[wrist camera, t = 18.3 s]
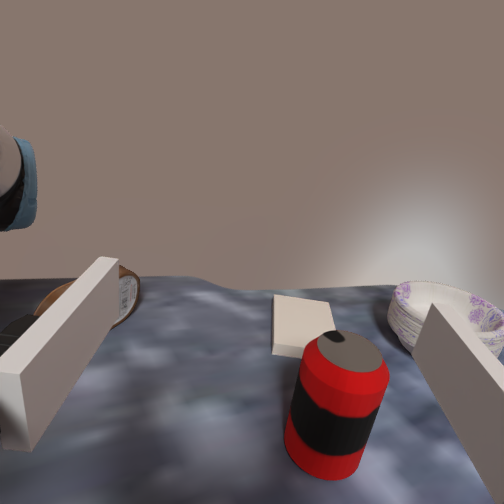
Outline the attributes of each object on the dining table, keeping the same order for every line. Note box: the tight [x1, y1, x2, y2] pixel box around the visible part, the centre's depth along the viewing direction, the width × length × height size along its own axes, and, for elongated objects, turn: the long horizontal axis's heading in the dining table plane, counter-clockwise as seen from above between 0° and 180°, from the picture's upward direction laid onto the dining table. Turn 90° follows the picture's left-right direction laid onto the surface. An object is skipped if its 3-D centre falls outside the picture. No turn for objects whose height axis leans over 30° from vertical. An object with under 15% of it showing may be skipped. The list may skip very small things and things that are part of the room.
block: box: [272, 294, 336, 359], centre depth 54 cm, size 2×9×13 cm
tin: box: [34, 265, 140, 330], centre depth 46 cm, size 15×3×8 cm, turn 154°
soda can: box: [284, 330, 389, 480], centre depth 34 cm, size 8×8×12 cm
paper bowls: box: [387, 281, 504, 358], centre depth 53 cm, size 15×15×8 cm
